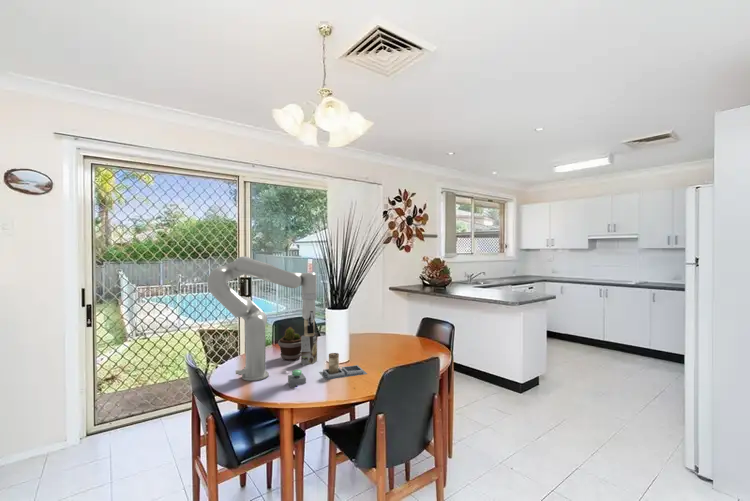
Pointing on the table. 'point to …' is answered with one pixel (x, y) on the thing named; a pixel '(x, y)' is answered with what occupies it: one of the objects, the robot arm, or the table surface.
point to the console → (296, 380)
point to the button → (296, 373)
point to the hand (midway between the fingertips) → (309, 331)
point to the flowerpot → (290, 345)
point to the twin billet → (333, 363)
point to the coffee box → (308, 349)
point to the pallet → (343, 372)
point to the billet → (306, 329)
